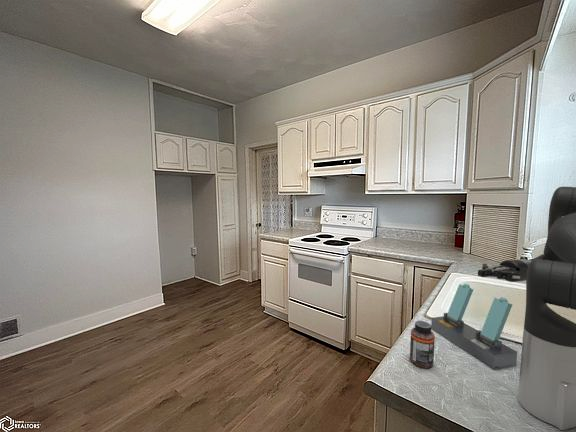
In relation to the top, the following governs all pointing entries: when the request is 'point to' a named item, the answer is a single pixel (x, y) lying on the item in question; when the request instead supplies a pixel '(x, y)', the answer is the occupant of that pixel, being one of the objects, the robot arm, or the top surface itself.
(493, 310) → the inner lever
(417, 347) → the supplement bottle
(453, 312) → the outer lever
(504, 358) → the switch box
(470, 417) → the top surface
